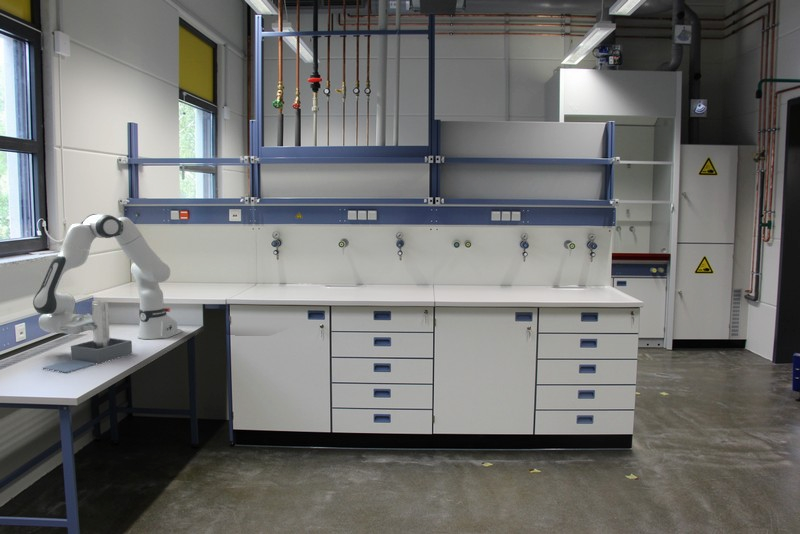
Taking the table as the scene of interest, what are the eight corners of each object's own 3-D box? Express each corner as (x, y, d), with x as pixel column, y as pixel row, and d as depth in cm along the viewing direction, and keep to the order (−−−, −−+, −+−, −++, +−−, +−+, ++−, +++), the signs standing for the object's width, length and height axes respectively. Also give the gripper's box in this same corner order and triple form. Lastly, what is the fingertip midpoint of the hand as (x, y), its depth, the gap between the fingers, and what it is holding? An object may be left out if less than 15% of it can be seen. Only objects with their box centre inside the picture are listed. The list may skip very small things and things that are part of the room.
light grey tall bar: (93, 359, 260) (90, 302, 257) (95, 355, 266) (92, 300, 263) (110, 357, 262) (107, 301, 259) (111, 354, 268) (108, 299, 265)
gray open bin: (106, 349, 275) (105, 337, 275) (132, 353, 269) (131, 340, 269) (71, 359, 259) (70, 346, 258) (98, 363, 253) (97, 350, 252)
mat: (72, 360, 257) (72, 359, 257) (96, 364, 252) (96, 363, 252) (42, 369, 245) (42, 367, 244) (66, 373, 239) (66, 371, 239)
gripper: (56, 322, 255) (84, 323, 252) (89, 312, 274) (116, 314, 272) (57, 336, 255) (85, 338, 253) (90, 326, 275) (117, 327, 273)
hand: (101, 325), depth 262 cm, fingers open, 8 cm apart
